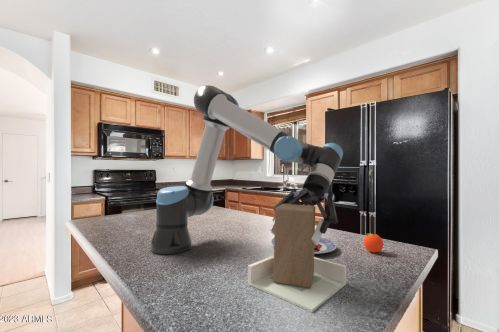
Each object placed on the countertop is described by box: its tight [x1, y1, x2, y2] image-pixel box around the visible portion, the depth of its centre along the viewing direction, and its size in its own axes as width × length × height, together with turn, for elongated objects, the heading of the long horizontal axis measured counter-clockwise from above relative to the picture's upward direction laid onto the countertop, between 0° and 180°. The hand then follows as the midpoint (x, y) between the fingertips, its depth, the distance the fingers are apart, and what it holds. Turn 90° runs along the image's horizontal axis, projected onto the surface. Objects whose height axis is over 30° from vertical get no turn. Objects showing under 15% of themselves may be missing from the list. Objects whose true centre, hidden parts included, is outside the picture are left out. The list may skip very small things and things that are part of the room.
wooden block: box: [273, 204, 316, 288], centre depth 70 cm, size 10×10×20 cm
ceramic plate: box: [270, 236, 338, 255], centre depth 101 cm, size 26×26×3 cm
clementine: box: [361, 233, 384, 254], centre depth 98 cm, size 8×7×7 cm
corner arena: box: [247, 254, 347, 313], centre depth 68 cm, size 19×19×5 cm
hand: (291, 237), depth 69 cm, fingers open, 13 cm apart
